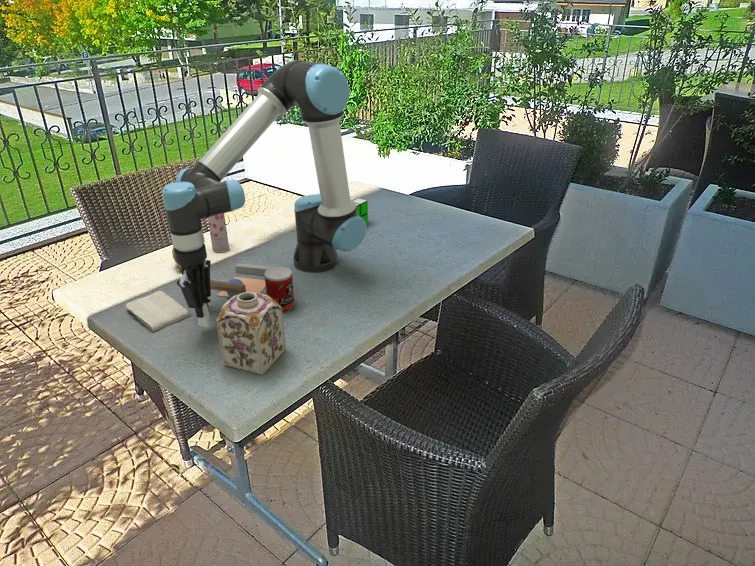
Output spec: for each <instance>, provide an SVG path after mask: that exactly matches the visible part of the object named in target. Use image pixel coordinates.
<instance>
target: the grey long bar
mask: <svg viewBox="0 0 755 566" xmlns="http://www.w3.org/2000/svg"><path fill="white" fill-rule="evenodd" d="M234 267H235V273H236V274H242V275H243V274H244V275H253V276H262V277H265V271H266V270H268V269H270V268H272V267H273V266H269V265H268V266H267V265H257V264H248V263H240V262H238V263H237V264H236V265H235V266H234Z"/></svg>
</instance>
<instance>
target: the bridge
mask: <svg viewBox="0 0 755 566" xmlns="http://www.w3.org/2000/svg"><path fill="white" fill-rule="evenodd" d="M210 286H211V291H219V292H221V291H226V292H234V294H235V295H239V294H241V293H245V292H246V287H245V284H239V283H230V282H228V281H220V280H211V279H210ZM207 306H208V309H209V308H210V303H208V302H207Z"/></svg>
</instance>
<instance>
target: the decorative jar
mask: <svg viewBox="0 0 755 566" xmlns="http://www.w3.org/2000/svg"><path fill="white" fill-rule="evenodd" d="M215 321H216V322H215V323H216V328H217V335H218V340H219V347H220V352H221V353H220V354H221V358H222V362H223V365H224V366H227V367H231V368H234V369H237V370H242V371H246V372H250V373H254V374H258V375H262V376H263V375H264V374H265V373H266V372H267V371H268V370H269V369H270V368H271V366H273V364H274V363H275V362H276V361H277V360H278V359H279V358H280V356H281V355H282V354H284V352H285V351H287V350H286V349H287V348H286V347H287V346H286V345H287V344H286V333H285V325H284V323H285V322H284V316H283V312H282V307H281V306H280V305H279V304H278V303H277V302H275V301H274V300H273V299H272V298H271V297H269V296H268V295H267V294H264V293H256V292H245V293H241V294H239V295H235V296H233V297H232V298H231V297H229V298H228V300H226V302H225V303H223V304H222V307H221V309H220V312H219V313H218V315H217V318H216V320H215Z"/></svg>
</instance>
